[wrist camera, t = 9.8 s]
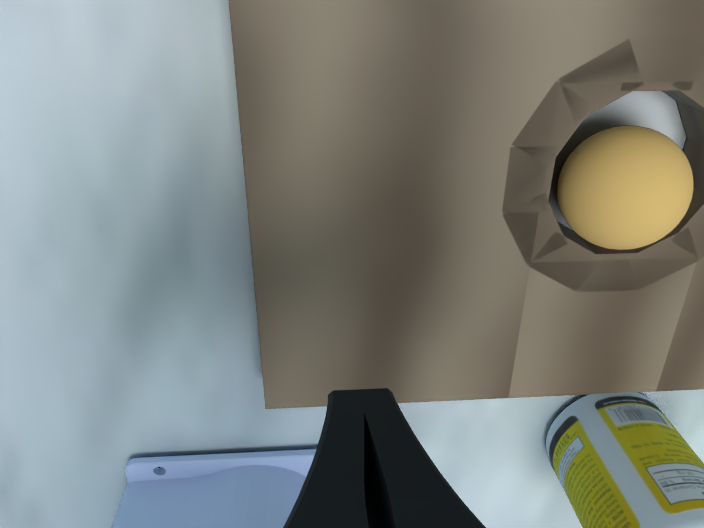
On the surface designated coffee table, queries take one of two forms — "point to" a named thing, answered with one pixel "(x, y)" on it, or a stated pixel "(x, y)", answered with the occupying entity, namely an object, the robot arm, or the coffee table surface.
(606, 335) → the wooden board with hole
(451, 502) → the robot arm
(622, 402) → the supplement bottle
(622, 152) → the ball
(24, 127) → the coffee table surface
